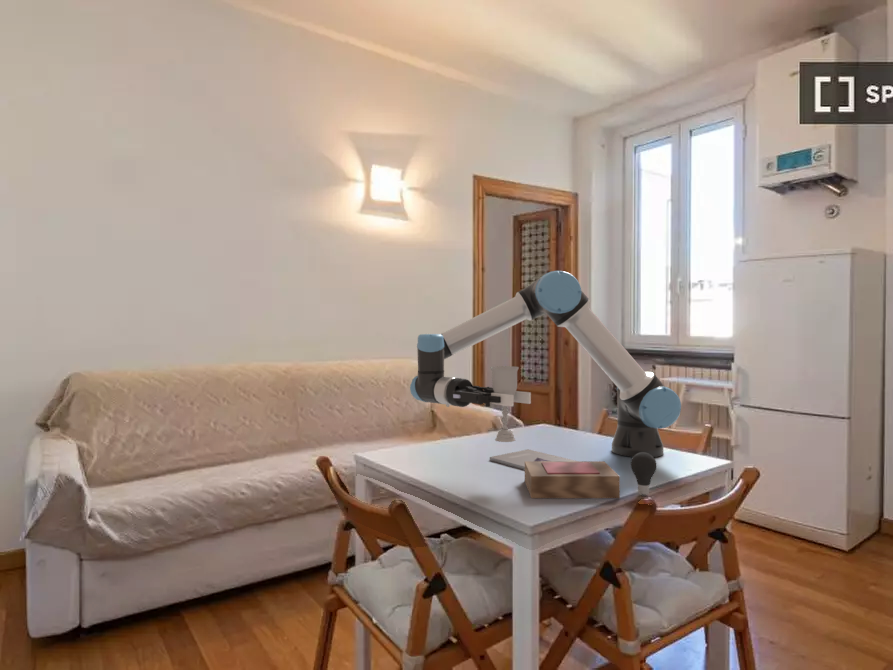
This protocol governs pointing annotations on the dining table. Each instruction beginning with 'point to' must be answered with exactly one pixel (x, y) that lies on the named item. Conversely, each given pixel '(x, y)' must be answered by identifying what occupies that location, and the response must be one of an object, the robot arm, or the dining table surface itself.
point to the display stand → (571, 479)
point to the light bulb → (643, 471)
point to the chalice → (504, 384)
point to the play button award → (524, 458)
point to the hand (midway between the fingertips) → (521, 399)
